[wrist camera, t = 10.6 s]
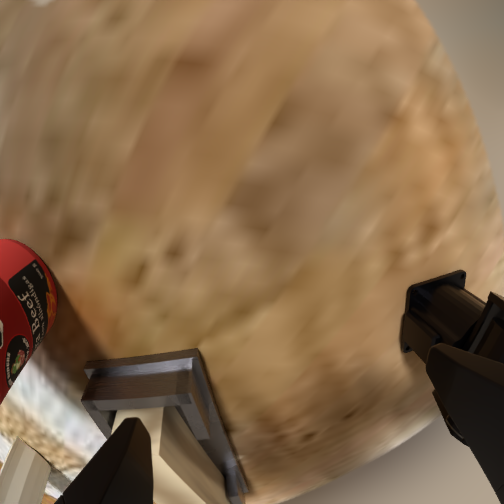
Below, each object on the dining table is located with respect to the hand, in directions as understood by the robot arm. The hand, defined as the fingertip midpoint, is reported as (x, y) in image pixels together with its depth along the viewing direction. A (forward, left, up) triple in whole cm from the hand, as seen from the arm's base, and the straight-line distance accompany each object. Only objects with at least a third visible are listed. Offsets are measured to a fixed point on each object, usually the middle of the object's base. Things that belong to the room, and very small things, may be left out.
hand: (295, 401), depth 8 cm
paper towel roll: (+31, +21, -12) cm, 39 cm away
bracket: (+9, +17, -12) cm, 23 cm away
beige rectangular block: (+9, +17, -11) cm, 22 cm away
